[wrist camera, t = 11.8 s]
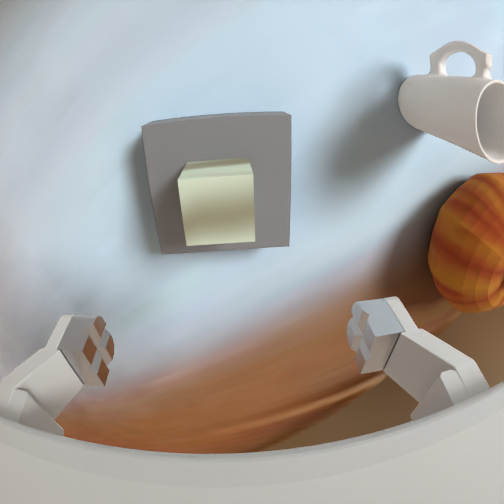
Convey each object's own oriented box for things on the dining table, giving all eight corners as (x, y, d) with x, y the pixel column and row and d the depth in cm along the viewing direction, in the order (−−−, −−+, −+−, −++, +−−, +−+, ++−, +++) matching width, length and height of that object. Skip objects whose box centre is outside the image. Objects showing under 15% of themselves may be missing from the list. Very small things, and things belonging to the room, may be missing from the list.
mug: (442, 132, 26) (518, 165, 16) (396, 131, 26) (472, 163, 16) (439, 49, 21) (519, 52, 11) (390, 39, 21) (469, 30, 11)
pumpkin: (399, 288, 38) (451, 370, 25) (432, 151, 28) (529, 205, 15) (485, 277, 39) (534, 335, 26) (518, 171, 29) (588, 215, 16)
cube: (187, 162, 23) (177, 180, 19) (248, 157, 23) (253, 174, 19) (193, 217, 26) (186, 245, 21) (250, 213, 26) (255, 241, 22)
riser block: (153, 121, 25) (141, 126, 21) (282, 111, 25) (291, 115, 22) (168, 234, 31) (162, 254, 27) (282, 227, 31) (289, 246, 28)
